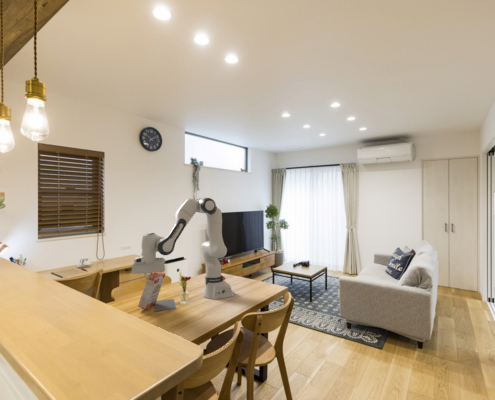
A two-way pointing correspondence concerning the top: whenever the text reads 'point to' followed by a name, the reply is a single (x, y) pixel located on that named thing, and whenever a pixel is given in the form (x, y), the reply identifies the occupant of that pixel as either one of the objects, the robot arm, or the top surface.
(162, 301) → the mat
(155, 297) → the cracker box
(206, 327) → the top surface
